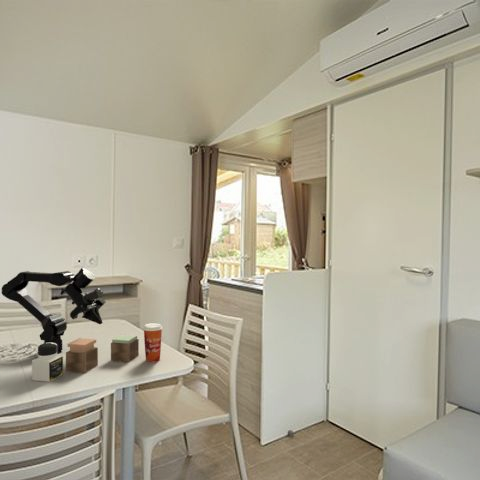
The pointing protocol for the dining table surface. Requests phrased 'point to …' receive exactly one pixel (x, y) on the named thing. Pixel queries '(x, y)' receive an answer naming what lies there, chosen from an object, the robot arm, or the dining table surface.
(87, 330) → the dining table surface
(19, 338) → the dining table surface
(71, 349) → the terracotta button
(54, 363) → the medicine bottle
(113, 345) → the block
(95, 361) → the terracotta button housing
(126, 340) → the sage button
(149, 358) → the paper cup
